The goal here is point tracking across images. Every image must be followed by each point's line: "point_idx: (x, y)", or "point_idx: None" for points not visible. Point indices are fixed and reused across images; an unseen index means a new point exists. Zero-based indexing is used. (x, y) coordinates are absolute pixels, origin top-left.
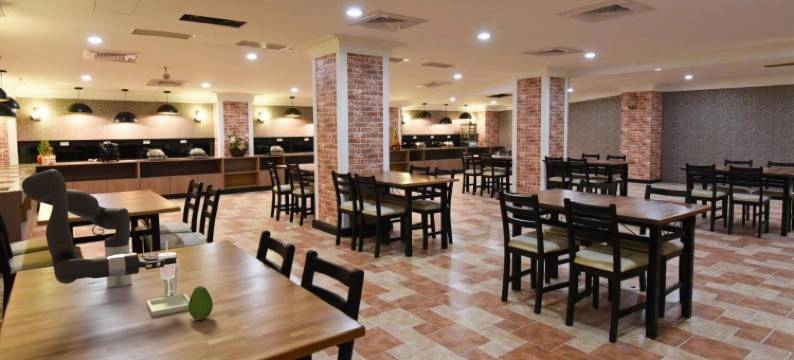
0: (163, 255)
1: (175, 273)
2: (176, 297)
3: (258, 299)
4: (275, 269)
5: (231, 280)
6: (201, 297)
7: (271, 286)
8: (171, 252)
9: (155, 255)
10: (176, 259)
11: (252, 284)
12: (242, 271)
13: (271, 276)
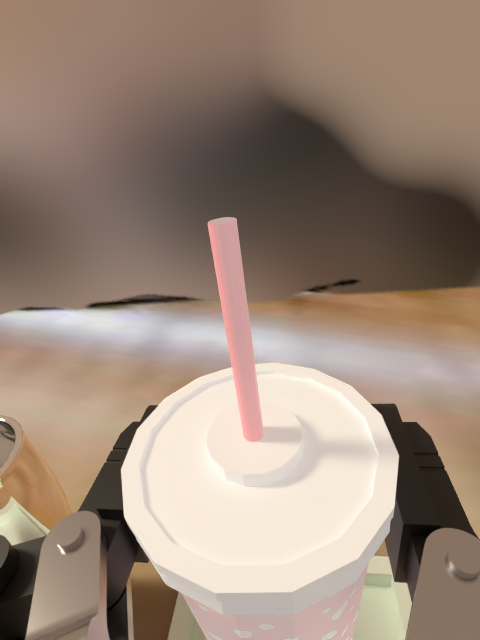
0: (305, 501)
1: (67, 514)
2: (192, 613)
3: (378, 361)
4: (150, 302)
5: (132, 376)
6: None
7: (275, 324)
8: (196, 390)
9: (92, 636)
10: (24, 433)
11: (221, 348)
12: (85, 344)
13: (193, 313)
